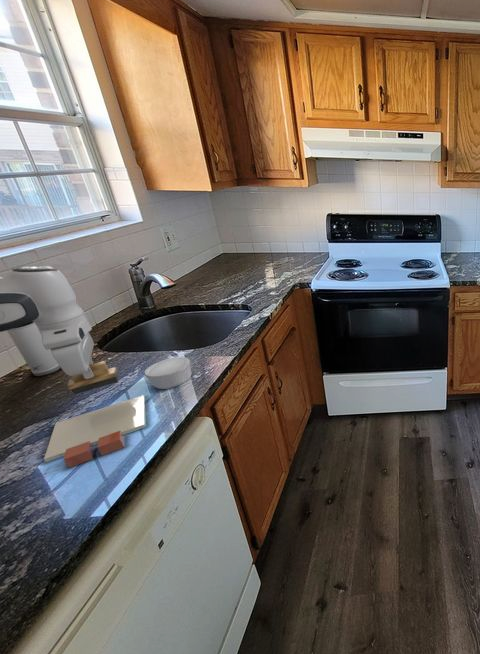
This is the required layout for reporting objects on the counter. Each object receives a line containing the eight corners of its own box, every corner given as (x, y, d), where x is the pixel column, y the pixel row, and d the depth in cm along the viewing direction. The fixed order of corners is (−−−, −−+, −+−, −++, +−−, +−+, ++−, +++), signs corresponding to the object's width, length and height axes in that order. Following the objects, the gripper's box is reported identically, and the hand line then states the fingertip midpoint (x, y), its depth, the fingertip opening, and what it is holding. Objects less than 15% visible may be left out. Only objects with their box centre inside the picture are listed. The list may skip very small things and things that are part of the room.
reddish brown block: (68, 468, 80) (63, 459, 79) (71, 457, 82) (66, 449, 81) (92, 459, 82) (87, 450, 81) (94, 449, 85) (89, 440, 84)
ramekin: (159, 374, 114) (152, 360, 111) (199, 368, 117) (194, 353, 114) (144, 395, 104) (136, 379, 102) (188, 387, 107) (182, 371, 105)
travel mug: (41, 377, 114) (6, 320, 106) (29, 374, 116) (-6, 317, 108) (65, 367, 119) (34, 312, 111) (54, 364, 122) (23, 309, 113)
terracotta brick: (101, 455, 83) (97, 447, 82) (103, 446, 86) (98, 437, 84) (124, 447, 85) (119, 439, 84) (124, 438, 88) (120, 430, 87)
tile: (45, 462, 81) (43, 459, 81) (57, 425, 93) (55, 422, 92) (145, 427, 91) (144, 424, 91) (145, 397, 103) (143, 394, 102)
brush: (72, 395, 95) (61, 376, 93) (74, 388, 98) (63, 369, 95) (119, 381, 100) (110, 363, 98) (120, 375, 103) (110, 357, 101)
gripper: (55, 319, 98) (79, 363, 103) (40, 346, 83) (69, 396, 89) (87, 312, 101) (108, 355, 107) (77, 338, 86) (103, 386, 92)
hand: (90, 374), depth 98 cm, fingers closed on brush, 2 cm apart
